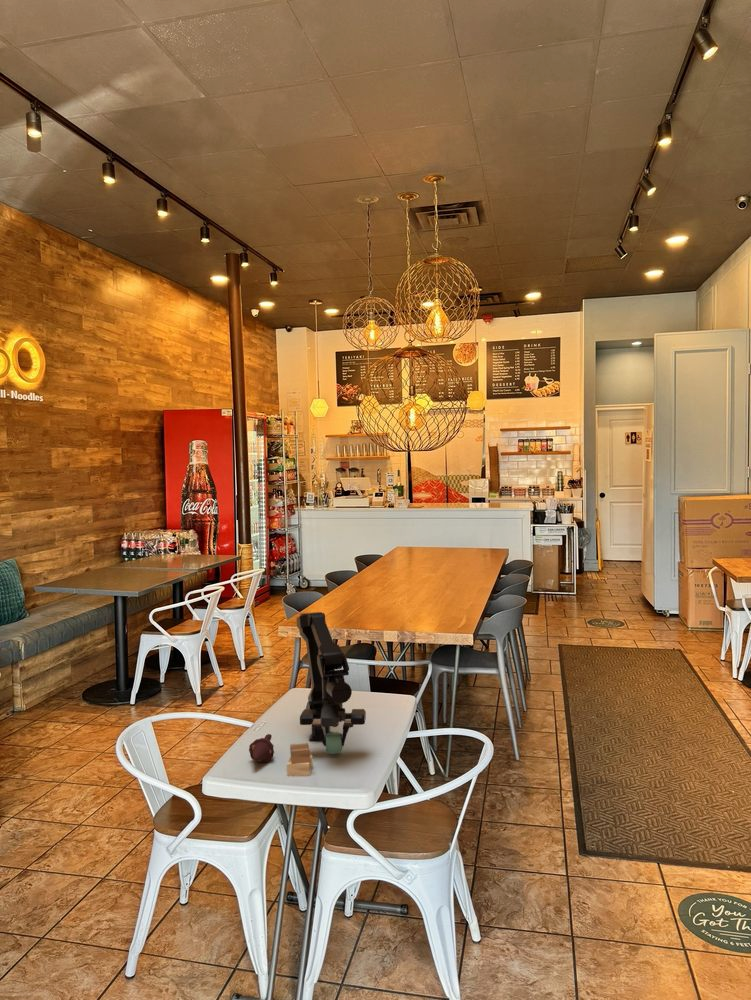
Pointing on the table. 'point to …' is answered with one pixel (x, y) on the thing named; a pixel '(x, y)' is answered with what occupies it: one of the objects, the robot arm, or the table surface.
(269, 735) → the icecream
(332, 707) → the robot arm
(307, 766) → the tower base
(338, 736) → the sage green cylinder
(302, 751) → the tower top
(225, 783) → the table surface
